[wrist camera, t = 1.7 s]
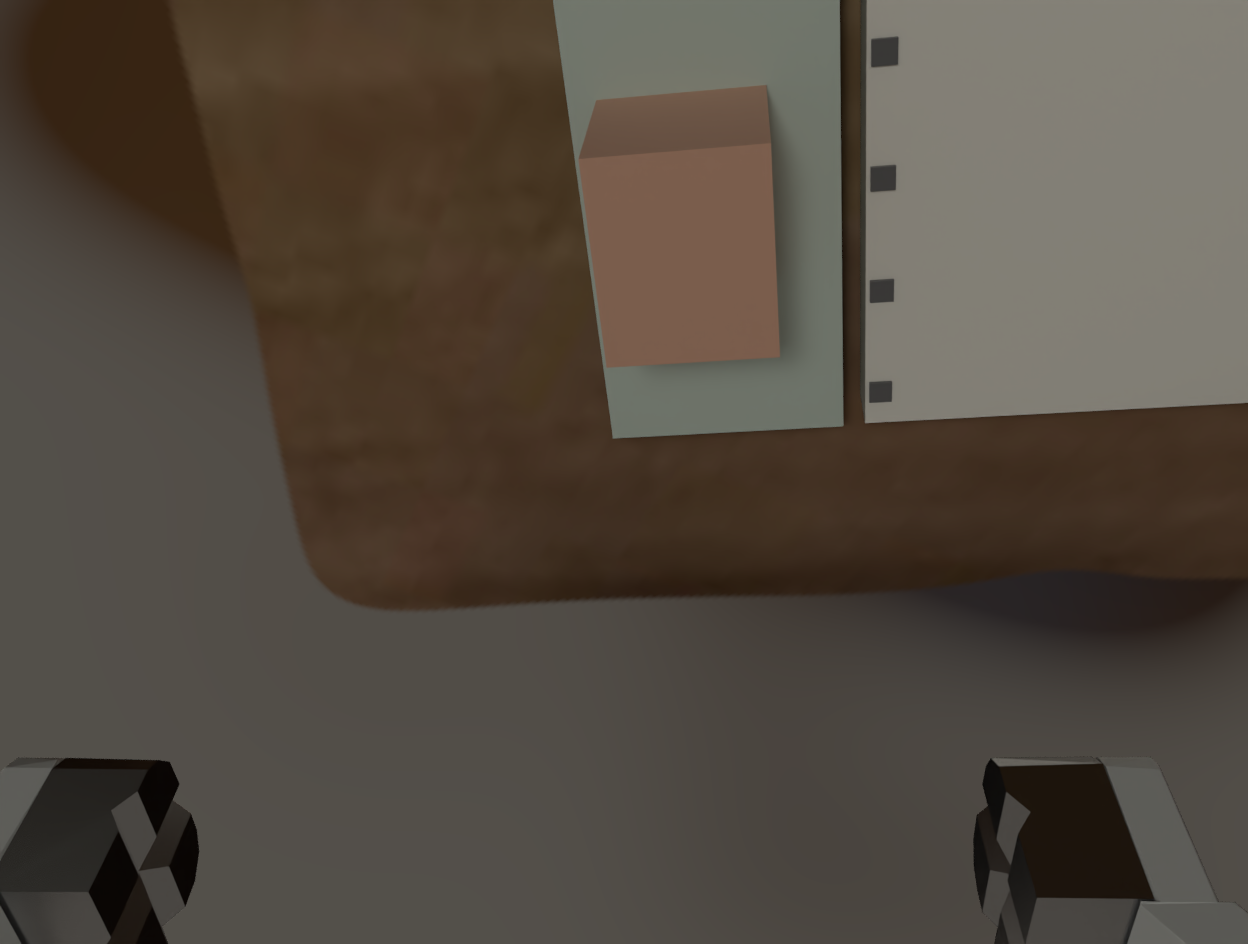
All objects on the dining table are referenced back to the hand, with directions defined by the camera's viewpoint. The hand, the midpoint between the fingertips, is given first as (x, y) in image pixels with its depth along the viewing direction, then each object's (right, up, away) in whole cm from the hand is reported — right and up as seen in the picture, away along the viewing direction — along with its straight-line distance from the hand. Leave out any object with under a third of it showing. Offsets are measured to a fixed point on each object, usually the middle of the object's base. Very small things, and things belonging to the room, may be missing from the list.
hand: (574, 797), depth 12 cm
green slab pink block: (+3, +11, +18) cm, 22 cm away
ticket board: (+13, +12, +17) cm, 25 cm away
